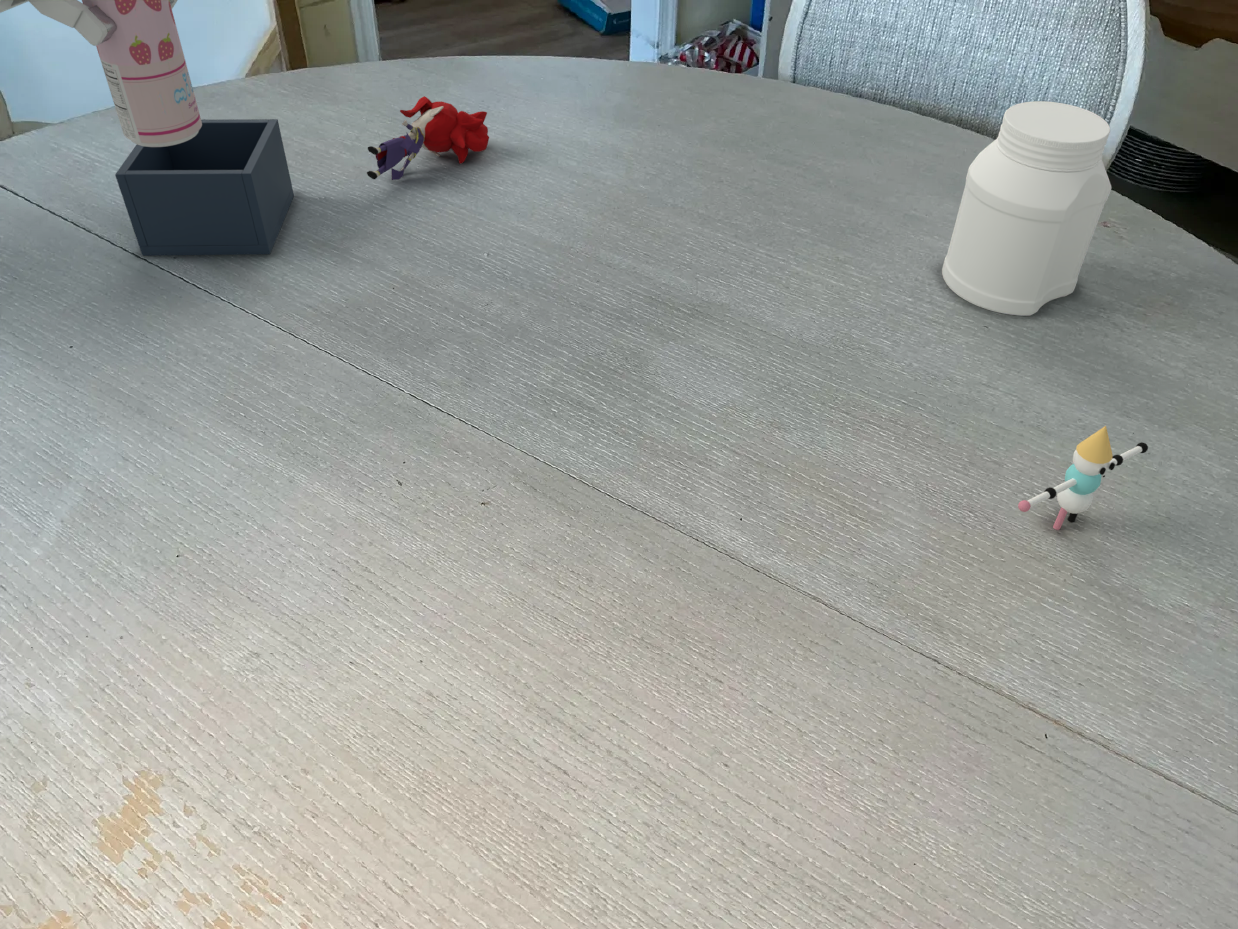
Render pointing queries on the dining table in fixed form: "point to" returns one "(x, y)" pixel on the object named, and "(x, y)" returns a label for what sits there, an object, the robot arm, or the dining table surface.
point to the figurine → (432, 136)
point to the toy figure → (1083, 476)
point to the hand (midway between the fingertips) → (139, 21)
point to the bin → (209, 190)
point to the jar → (1029, 209)
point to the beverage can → (148, 73)
